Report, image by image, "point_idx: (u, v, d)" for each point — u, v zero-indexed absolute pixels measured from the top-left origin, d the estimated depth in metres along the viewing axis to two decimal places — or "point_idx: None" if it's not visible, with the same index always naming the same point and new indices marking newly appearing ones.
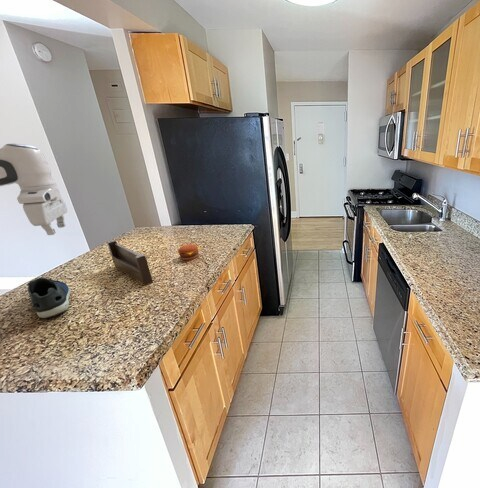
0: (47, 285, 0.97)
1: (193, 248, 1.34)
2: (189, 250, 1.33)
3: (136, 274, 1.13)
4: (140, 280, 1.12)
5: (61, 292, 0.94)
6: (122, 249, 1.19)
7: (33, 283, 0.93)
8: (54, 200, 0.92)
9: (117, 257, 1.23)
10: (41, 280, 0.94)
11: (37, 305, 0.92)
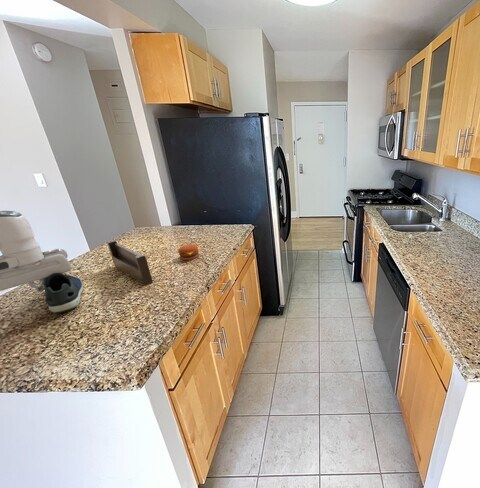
0: (62, 280, 1.00)
1: (193, 248, 1.34)
2: (189, 250, 1.33)
3: (136, 274, 1.13)
4: (140, 280, 1.12)
5: (74, 288, 0.97)
6: (122, 249, 1.19)
7: (49, 277, 0.95)
8: (25, 266, 0.89)
9: (117, 257, 1.23)
10: (57, 275, 0.97)
11: (50, 299, 0.94)
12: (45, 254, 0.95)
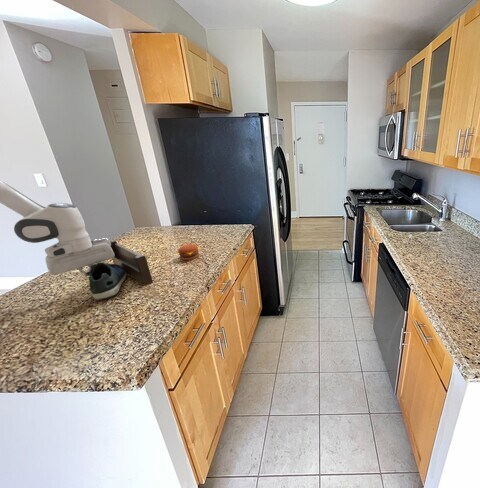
0: (106, 269, 1.09)
1: (193, 248, 1.34)
2: (189, 250, 1.33)
3: (136, 274, 1.13)
4: (140, 280, 1.12)
5: (114, 277, 1.04)
6: (122, 249, 1.19)
7: (94, 266, 1.04)
8: (77, 253, 1.00)
9: (117, 257, 1.23)
10: (101, 264, 1.06)
11: None
12: (93, 242, 1.05)
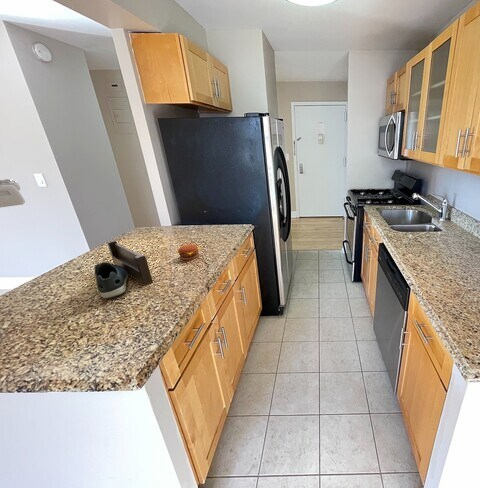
0: (110, 269, 1.09)
1: (193, 248, 1.34)
2: (189, 250, 1.33)
3: (136, 274, 1.13)
4: (140, 280, 1.12)
5: (120, 276, 1.05)
6: (122, 249, 1.19)
7: (99, 266, 1.04)
8: None
9: (117, 257, 1.23)
10: (105, 264, 1.06)
11: (101, 286, 1.03)
12: None
